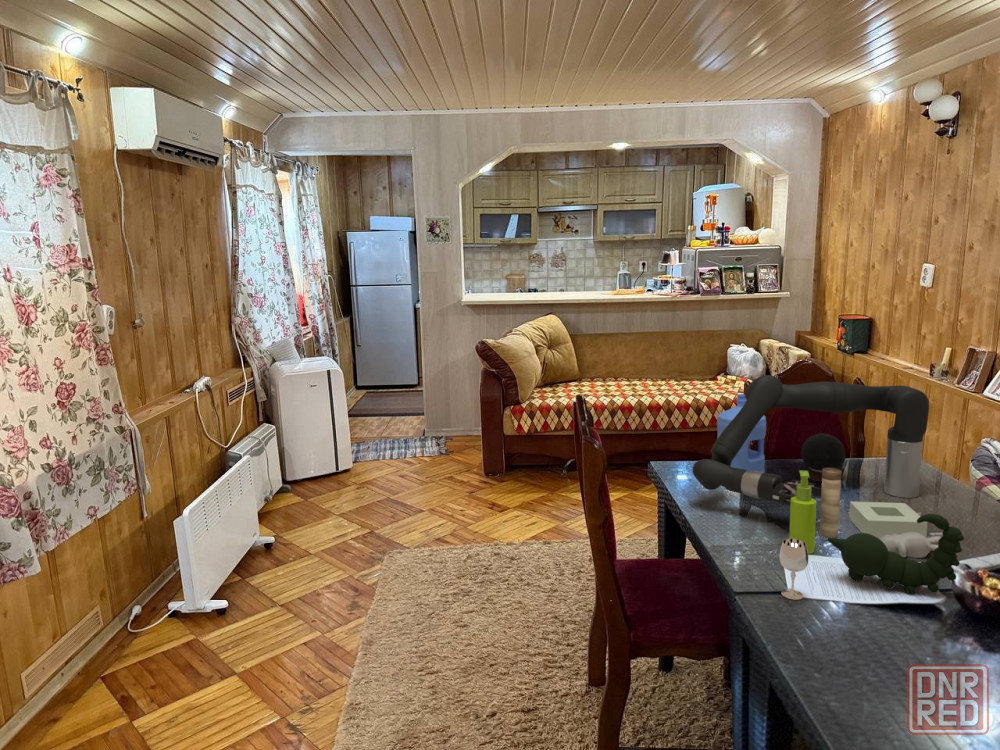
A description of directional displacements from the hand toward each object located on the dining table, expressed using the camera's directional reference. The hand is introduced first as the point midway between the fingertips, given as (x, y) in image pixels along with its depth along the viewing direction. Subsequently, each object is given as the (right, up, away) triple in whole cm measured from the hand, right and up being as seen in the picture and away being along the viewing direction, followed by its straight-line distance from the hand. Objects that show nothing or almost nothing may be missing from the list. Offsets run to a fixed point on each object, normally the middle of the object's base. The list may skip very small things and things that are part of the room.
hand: (821, 498), depth 174 cm
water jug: (-3, -2, +52) cm, 52 cm away
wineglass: (-21, -16, -30) cm, 40 cm away
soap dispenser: (-9, -12, -7) cm, 16 cm away
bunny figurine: (+16, -12, -12) cm, 23 cm away
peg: (+2, -10, 0) cm, 10 cm away
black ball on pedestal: (+23, -2, +46) cm, 52 cm away
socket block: (+19, -9, +3) cm, 21 cm away
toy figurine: (+2, -15, -27) cm, 31 cm away
